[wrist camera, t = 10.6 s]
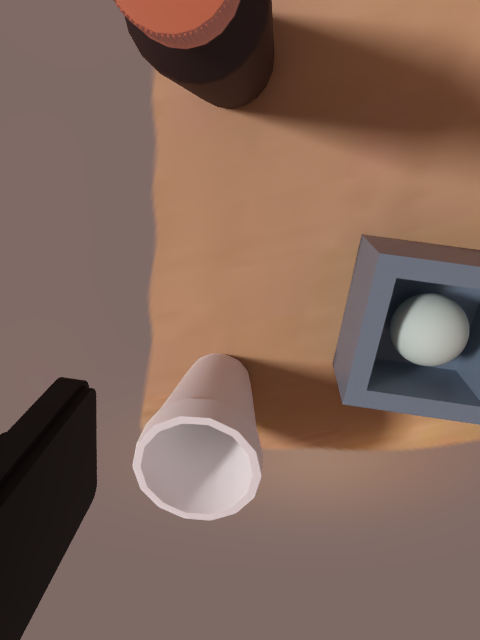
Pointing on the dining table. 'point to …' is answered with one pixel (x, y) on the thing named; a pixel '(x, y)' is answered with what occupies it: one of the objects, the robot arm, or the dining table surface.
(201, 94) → the bottle
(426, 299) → the ball
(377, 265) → the blue-grey open box
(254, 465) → the foam cup
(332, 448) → the dining table surface
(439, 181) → the dining table surface
